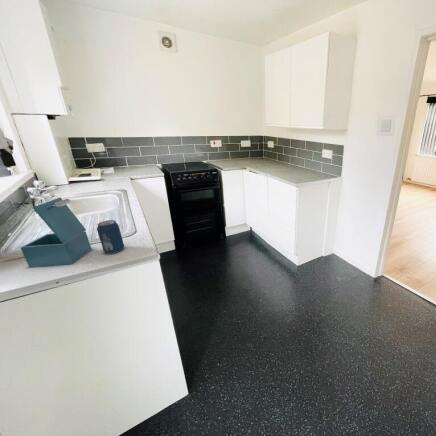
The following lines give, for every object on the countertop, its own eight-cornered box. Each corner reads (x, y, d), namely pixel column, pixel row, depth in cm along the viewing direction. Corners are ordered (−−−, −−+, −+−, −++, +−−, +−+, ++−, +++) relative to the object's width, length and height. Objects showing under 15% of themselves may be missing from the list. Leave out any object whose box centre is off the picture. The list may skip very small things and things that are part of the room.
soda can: (123, 245, 103) (115, 218, 99) (126, 250, 98) (118, 222, 94) (103, 250, 99) (94, 222, 94) (105, 256, 94) (96, 227, 90)
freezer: (29, 267, 87) (20, 247, 84) (54, 251, 98) (46, 233, 95) (71, 264, 89) (64, 244, 86) (91, 249, 100) (85, 231, 97)
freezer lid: (32, 207, 80) (47, 201, 80) (58, 198, 91) (72, 192, 91) (63, 243, 86) (77, 237, 86) (84, 230, 97) (97, 225, 97)
